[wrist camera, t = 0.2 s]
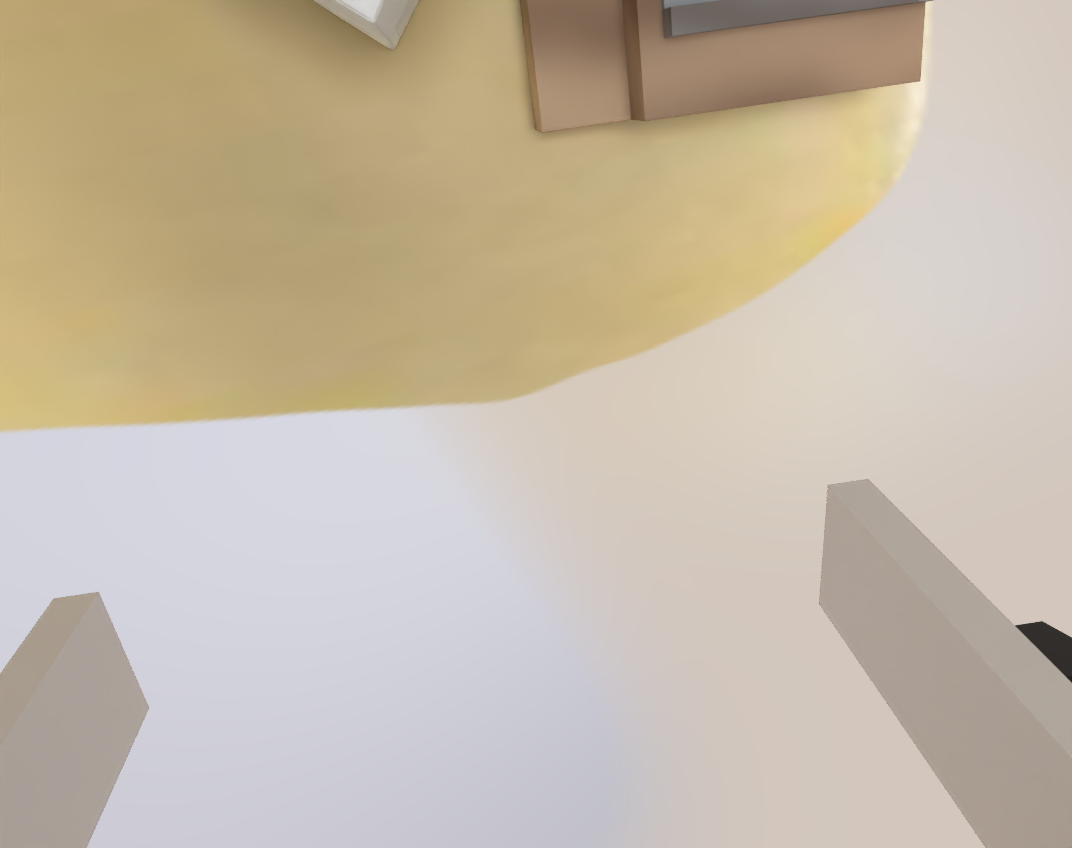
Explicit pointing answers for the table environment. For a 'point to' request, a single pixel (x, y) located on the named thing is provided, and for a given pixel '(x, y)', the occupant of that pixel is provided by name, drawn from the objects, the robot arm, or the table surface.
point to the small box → (375, 17)
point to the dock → (709, 54)
